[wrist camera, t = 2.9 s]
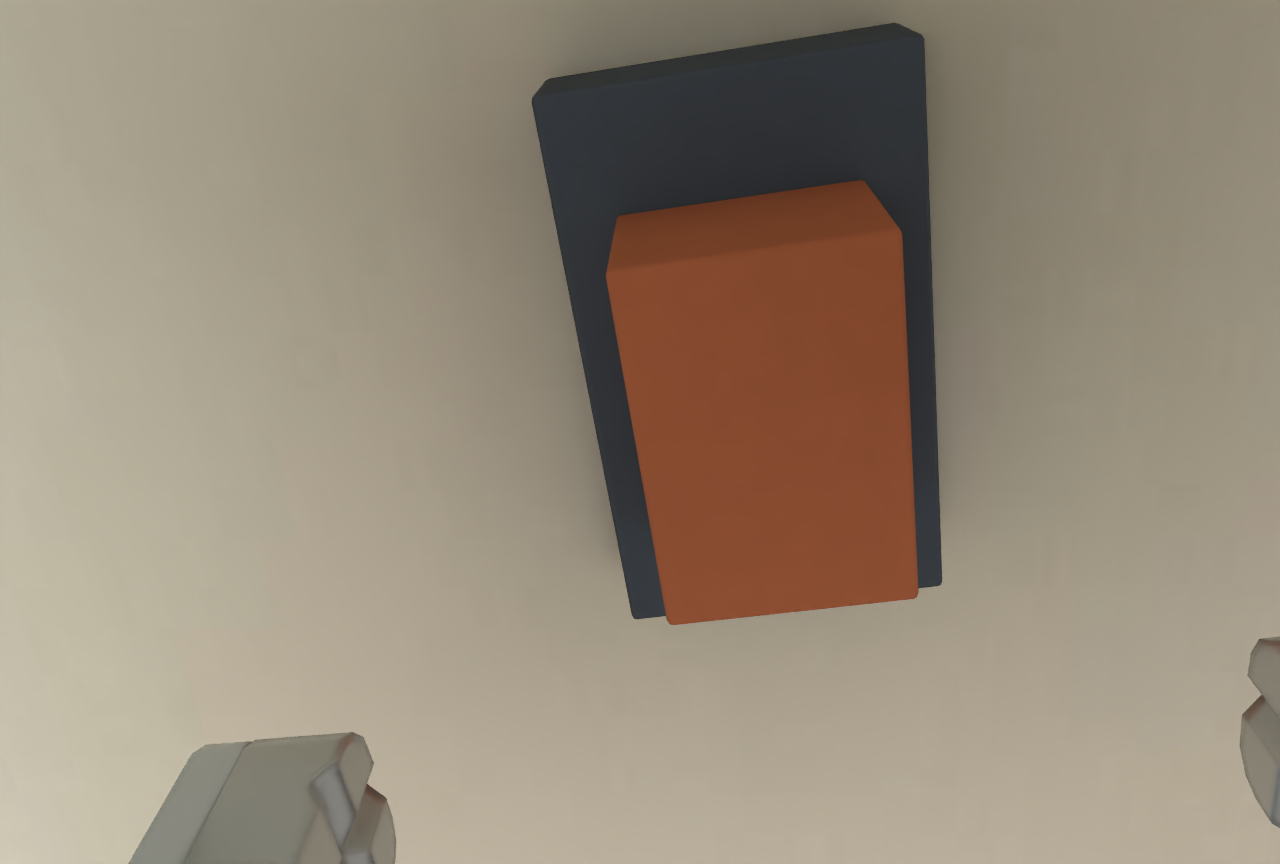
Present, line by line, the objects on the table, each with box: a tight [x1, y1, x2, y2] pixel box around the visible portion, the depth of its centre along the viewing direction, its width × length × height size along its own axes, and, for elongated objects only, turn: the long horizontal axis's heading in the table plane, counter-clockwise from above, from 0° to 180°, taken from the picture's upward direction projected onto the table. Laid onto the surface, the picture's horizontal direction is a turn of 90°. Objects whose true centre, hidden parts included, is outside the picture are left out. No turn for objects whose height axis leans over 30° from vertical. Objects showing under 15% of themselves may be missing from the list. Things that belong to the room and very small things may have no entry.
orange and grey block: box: [532, 23, 942, 625], centre depth 17 cm, size 6×10×5 cm, turn 9°
